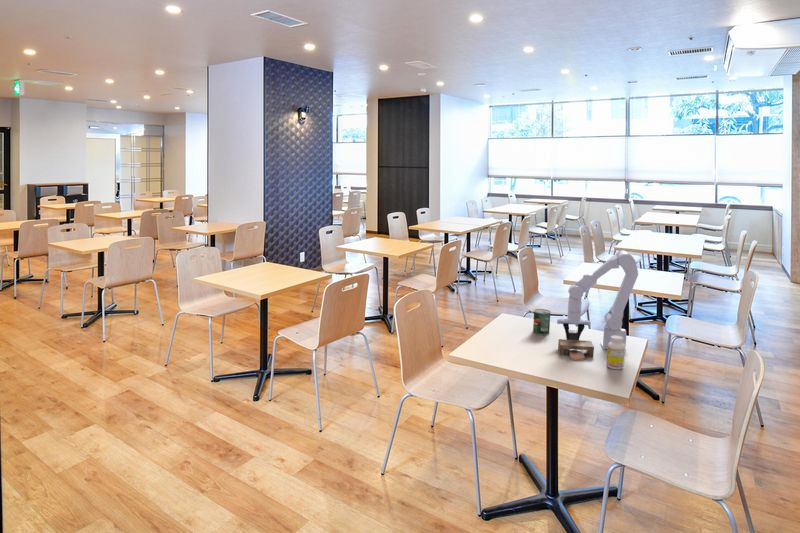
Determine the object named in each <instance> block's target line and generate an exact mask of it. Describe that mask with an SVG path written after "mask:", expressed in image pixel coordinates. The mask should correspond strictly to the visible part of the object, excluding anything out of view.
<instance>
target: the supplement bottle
mask: <svg viewBox="0 0 800 533" xmlns="http://www.w3.org/2000/svg"><path fill="white" fill-rule="evenodd" d="M622 342H623V337H621V336H616V335H614V336H611V342H609V343H608V349H607V350H606V366H607V367H608V368H609V369H612V370H622V369H623V368H624V366H625V365H624V364H625V356H626V355H625V354H626V350H625V349H626V347H625V344H624V343H622Z"/></svg>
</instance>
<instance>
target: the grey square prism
mask: <svg viewBox="0 0 800 533" xmlns="http://www.w3.org/2000/svg"><path fill="white" fill-rule="evenodd" d="M568 340H578V329H577V330H576V329H569V333H568ZM567 350H568V353H569V354H570V353H572V352H579V353H582V350H576V349H567ZM582 354H583V353H582Z"/></svg>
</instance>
